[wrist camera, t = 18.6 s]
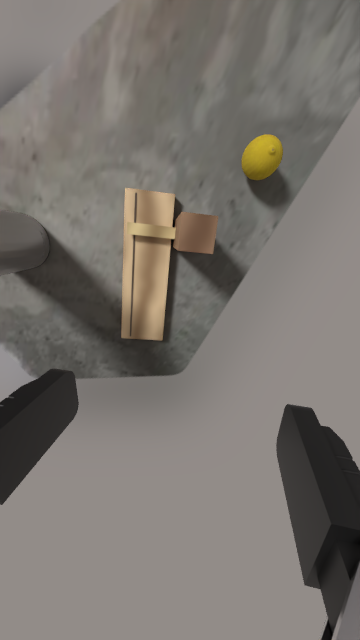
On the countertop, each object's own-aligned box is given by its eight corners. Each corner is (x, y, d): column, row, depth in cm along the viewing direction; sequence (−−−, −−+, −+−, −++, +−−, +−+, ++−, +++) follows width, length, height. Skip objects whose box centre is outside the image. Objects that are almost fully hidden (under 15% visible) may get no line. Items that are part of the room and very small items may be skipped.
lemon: (238, 188, 41) (256, 177, 33) (232, 151, 39) (250, 131, 31) (269, 179, 41) (294, 166, 33) (265, 142, 39) (290, 119, 31)
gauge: (129, 242, 42) (115, 244, 29) (130, 215, 41) (116, 203, 28) (197, 249, 44) (212, 254, 30) (200, 223, 42) (218, 216, 29)
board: (122, 334, 48) (121, 338, 46) (126, 190, 40) (125, 187, 38) (162, 336, 49) (162, 340, 47) (174, 196, 40) (175, 194, 38)
